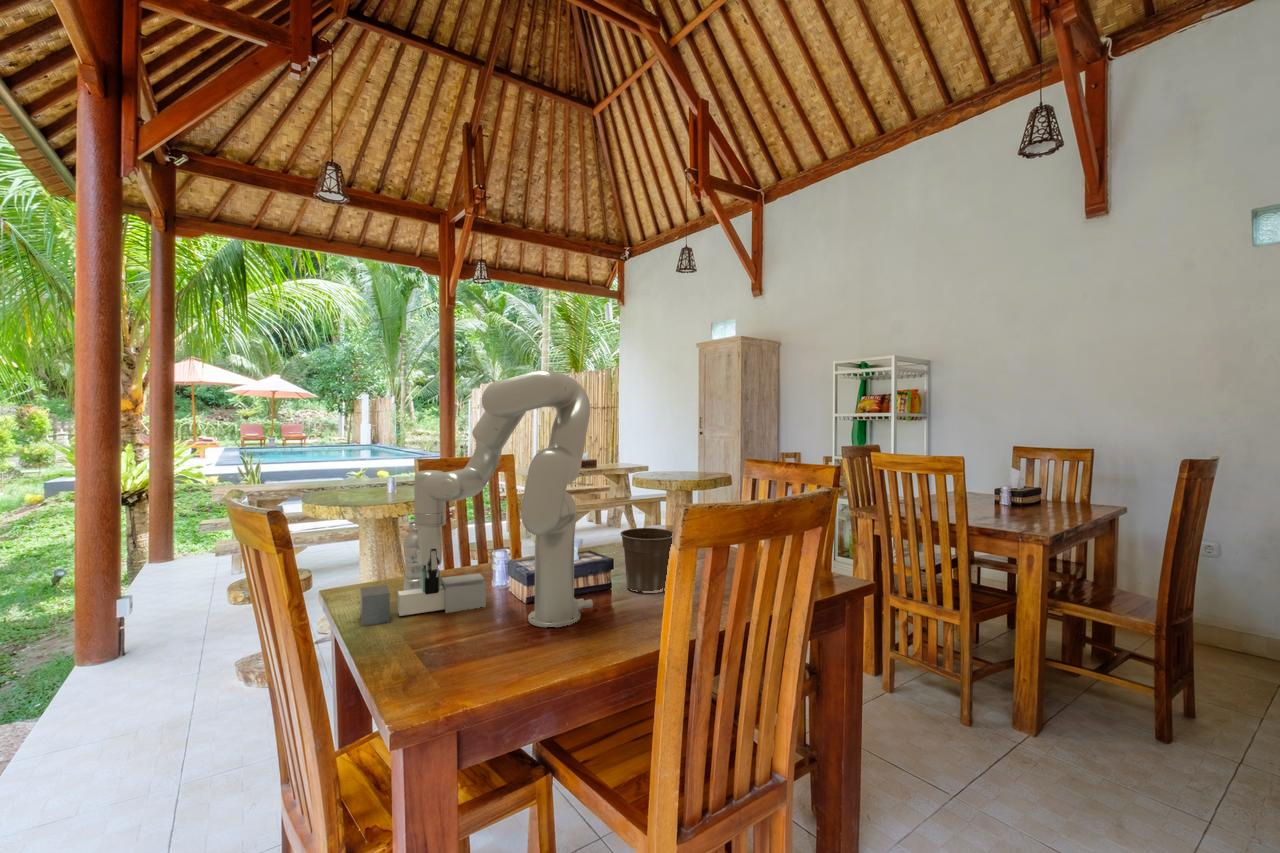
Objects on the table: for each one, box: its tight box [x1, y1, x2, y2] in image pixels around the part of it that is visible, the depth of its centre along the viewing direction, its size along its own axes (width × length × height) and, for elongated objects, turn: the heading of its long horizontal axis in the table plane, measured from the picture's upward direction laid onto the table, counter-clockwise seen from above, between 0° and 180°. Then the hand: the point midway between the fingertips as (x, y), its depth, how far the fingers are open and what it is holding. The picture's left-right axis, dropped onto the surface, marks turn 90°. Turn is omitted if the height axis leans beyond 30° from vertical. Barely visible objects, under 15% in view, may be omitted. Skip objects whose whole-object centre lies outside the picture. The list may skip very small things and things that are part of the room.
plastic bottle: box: [403, 521, 423, 591], centre depth 160 cm, size 6×7×20 cm
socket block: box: [359, 584, 391, 627], centre depth 140 cm, size 6×8×7 cm
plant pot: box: [620, 527, 674, 593], centre depth 166 cm, size 16×16×16 cm
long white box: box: [397, 568, 445, 617], centre depth 147 cm, size 20×4×10 cm, turn 118°
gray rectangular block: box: [440, 572, 487, 614], centre depth 150 cm, size 10×7×7 cm
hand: (430, 590), depth 146 cm, fingers closed on long white box, 4 cm apart
